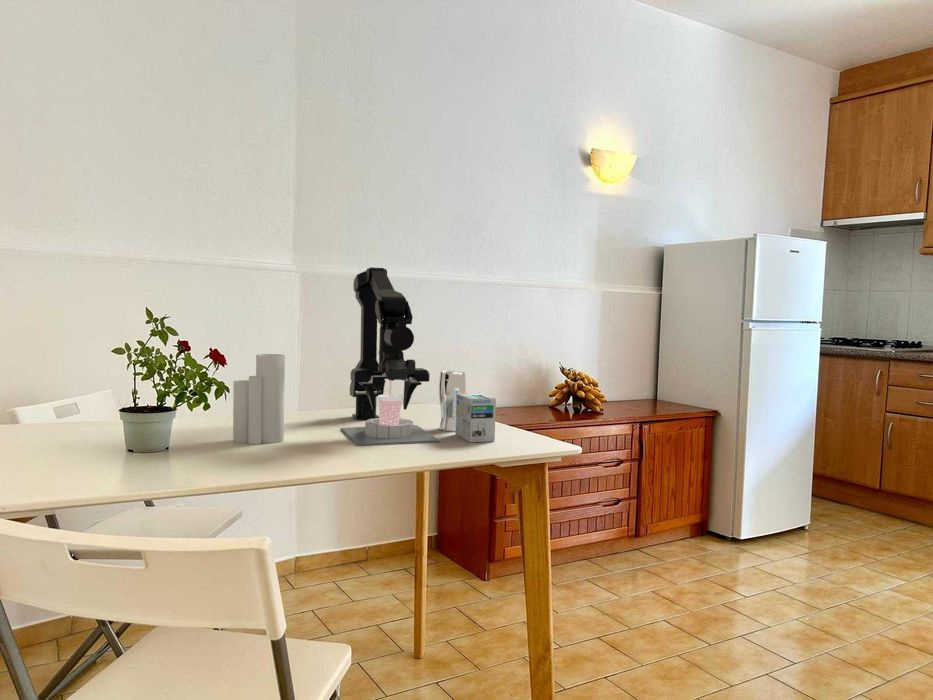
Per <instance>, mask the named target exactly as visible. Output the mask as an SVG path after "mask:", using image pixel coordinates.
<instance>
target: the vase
mask: <svg viewBox="0 0 933 700" xmlns="http://www.w3.org/2000/svg"><path fill="white" fill-rule="evenodd" d="M255 356H256V358H255V359H256V360H255V364H256V365H255V375H249V376H248V379H246V380H245V379H241V380H240V379H239V380H234V381H233V385H232V387H233V389H232V391H233V395H232V396H233V397H232V398H233V399H232V400H233V401H232V403H233V405H232V406H233V408H232V409H233V410H232V411H233V412H232V414H233V415H232V416H233V418H232V419H233V420H232V421H233V422H232V425H233V427H232V430H233V431H232V441H233V443H239V444H242V443H248V444H249V445H261V444H262V443H263V444H274V443H275V444H276V443H281V442H283V441H284V440H285V438H284V437H285V378H286V377H285V374H286V373H285V369H286V368H285V365H286V363H285V359H286V356H285V354H279V353H262V354H261V353H260V354H256V355H255Z"/></svg>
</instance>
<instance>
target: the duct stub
mask: <svg viewBox="0 0 933 700" xmlns="http://www.w3.org/2000/svg"><path fill="white" fill-rule="evenodd" d="M340 430H341V431H342V432H343V434H345V435H346V436H347V437H348V438H349V439H350V440H351V442H353V443H354V444H355V445H356V446H357V447H358V446H362V447H363V446H380V445H381V446H382V445H383V446H385V445H387V446H388V445H405V444H406V445H407V444H425V443H426V444H427V443H428V444H429V443H430V444H431V443H440V442H441V439H439V438H438V437H436V436H435V435H433V434H431V433H429V432H428V431H426V430H424V429H423V428H421V427H420V426H418V425H416V424H414V422H413V421H412V420H411V419H407V418H403V417H402V418H401V417H400V420H399V425H380V422H379V418H374V419H366V420H365V422H364V426H356V427H355V426H353V427H352V426H351V427H349V426H348V427H340Z"/></svg>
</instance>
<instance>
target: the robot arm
mask: <svg viewBox="0 0 933 700" xmlns="http://www.w3.org/2000/svg"><path fill="white" fill-rule="evenodd" d="M353 292H354V293H355V296H354V297H355V299H356V300H357V303H358V304H359V306H360V354H359V355H360V356H359V358H360V359H359V361H358V362H357V364H356V366H355V367H354V368H352V370H351V371H350V380H351V381H350V385H349V396H351V397H352V398H355V413H352V417H353V418H354V419H355V420H369V419H374V418H379V415H378V414H377V397H378V395H384V390H385V385H386V380H388V381H389V380H391V382H392V381H396V380H397V381H404V384H403V385H404V386H403V397H402V401H403V402H402V403H403V405H402V406H403V410H405V411H406V410H407V409H408V406H409V403H410V400H411V398H412V395H413V394H414V392H415V389H416V388H417V387H418V386H421V385H422V384H423V383H424V382H428V383H429V382H430V377H431V376H430V371H428V370H427V369H425V368H424V367H423V368H422V367H419V368H418V367H416V360H415V359H406V360H405V358H404V357H405V356H404V352H403V351H407V350H408V349H410V348H411V347H412V345H413V344H414V340H415V335H414V333H413V331H412V330H411V329H410V328H409V327H408V326H407V325H412V322H413V318H414V316H413V314H412V310H411V306H410V305H409V301H408V300H407V298H406V296H404V294H403V293H401V292H399V291H397V290H395V289H394V287H393V284H392V283H391V280H390V278H389V276H388V270H387V269H386V268H384V267H373V266H372V267H368V268H367V269H366V270H365V271H362V272H359V273H357V274H356V276H355V278H354V279H353ZM378 324H379V340H378ZM378 342H379V345H378ZM377 356H378V359H377ZM422 382H423V383H422Z"/></svg>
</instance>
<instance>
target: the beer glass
mask: <svg viewBox="0 0 933 700" xmlns="http://www.w3.org/2000/svg"><path fill="white" fill-rule="evenodd" d="M456 393H466V372H464V371H455V370H451V371H450V370H447V371H446V370H445V371H440V372H439V382H438V398H439V406H440V413H441V414H440V421H439V423H440V424H439V426H438V427H439V430H441V431H443V432H456Z"/></svg>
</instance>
